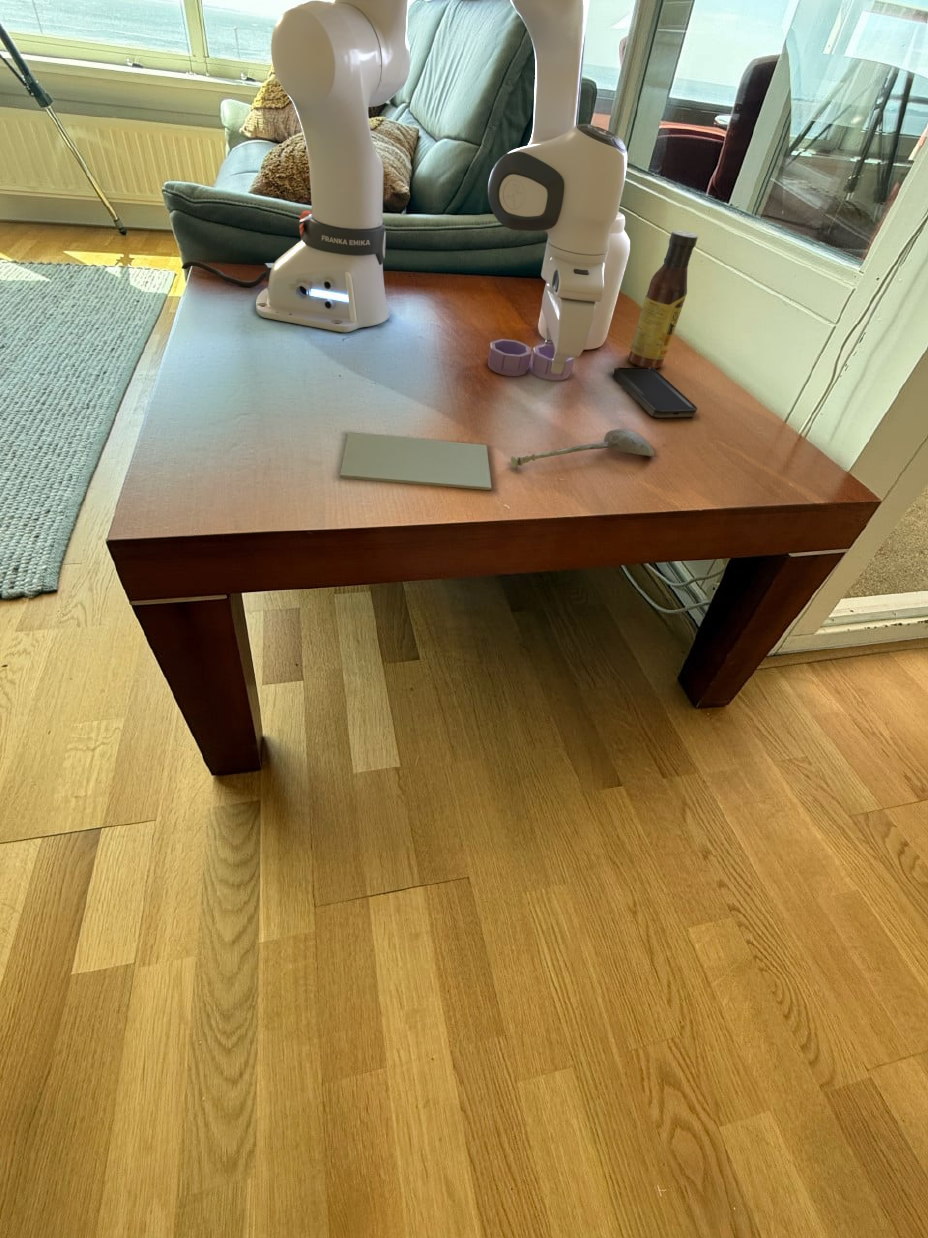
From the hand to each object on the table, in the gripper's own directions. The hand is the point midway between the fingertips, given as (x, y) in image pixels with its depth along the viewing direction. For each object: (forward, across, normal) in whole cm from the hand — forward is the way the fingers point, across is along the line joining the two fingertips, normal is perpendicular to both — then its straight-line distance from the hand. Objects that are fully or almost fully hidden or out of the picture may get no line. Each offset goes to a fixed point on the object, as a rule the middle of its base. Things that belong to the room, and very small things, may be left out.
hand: (552, 361), depth 101 cm
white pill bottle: (+2, -16, +6) cm, 17 cm away
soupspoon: (+2, +26, +1) cm, 26 cm away
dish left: (+2, 0, -7) cm, 7 cm away
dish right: (+2, 0, 0) cm, 2 cm away
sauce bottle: (+2, -8, +18) cm, 20 cm away
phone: (+2, +5, +16) cm, 17 cm away
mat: (+2, +31, -21) cm, 38 cm away
